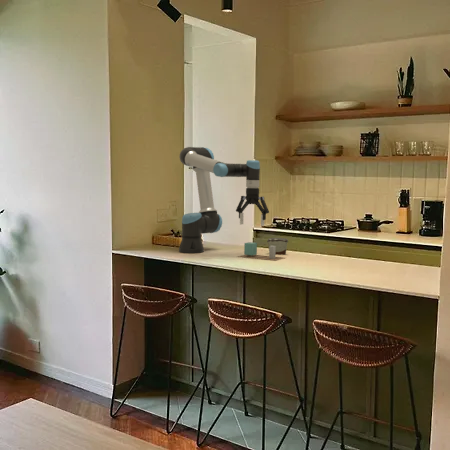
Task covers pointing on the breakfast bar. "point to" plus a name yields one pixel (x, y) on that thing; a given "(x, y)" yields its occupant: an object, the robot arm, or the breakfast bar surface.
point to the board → (261, 257)
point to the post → (272, 252)
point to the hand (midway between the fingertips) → (251, 225)
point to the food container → (278, 245)
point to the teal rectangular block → (250, 248)
